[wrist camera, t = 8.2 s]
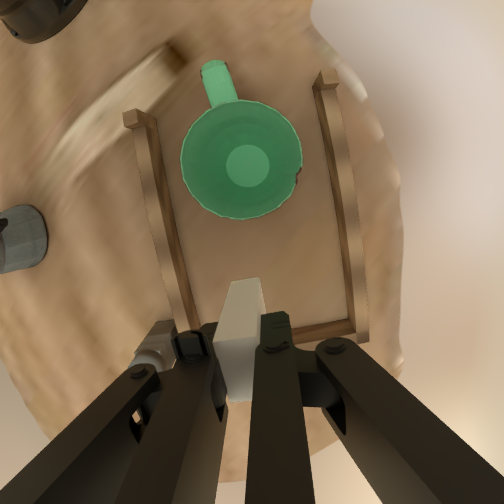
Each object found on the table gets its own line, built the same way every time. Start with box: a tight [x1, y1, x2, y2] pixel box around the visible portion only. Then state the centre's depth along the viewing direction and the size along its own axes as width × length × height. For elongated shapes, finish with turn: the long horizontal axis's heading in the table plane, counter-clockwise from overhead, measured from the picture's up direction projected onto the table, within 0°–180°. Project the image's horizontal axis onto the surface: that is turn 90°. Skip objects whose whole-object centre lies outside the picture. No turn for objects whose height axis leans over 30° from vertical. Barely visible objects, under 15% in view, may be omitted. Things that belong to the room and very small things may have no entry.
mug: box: [180, 60, 303, 220], centre depth 29 cm, size 15×10×10 cm
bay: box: [123, 69, 369, 373], centre depth 31 cm, size 29×25×10 cm
